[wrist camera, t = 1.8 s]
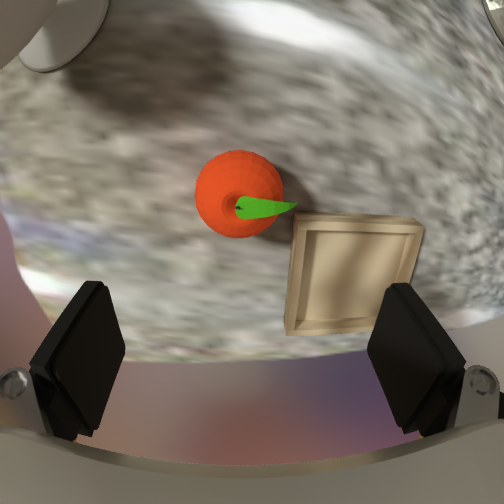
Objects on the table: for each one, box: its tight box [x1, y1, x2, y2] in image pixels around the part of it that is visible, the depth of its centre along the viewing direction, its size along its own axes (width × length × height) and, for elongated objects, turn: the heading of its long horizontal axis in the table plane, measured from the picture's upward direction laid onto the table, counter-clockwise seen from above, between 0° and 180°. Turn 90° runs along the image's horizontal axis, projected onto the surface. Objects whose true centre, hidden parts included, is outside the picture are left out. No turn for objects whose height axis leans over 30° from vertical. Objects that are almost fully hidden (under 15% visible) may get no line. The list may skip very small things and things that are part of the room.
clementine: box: [195, 150, 299, 238], centre depth 23 cm, size 8×7×7 cm
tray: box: [284, 211, 425, 336], centre depth 29 cm, size 13×13×2 cm
